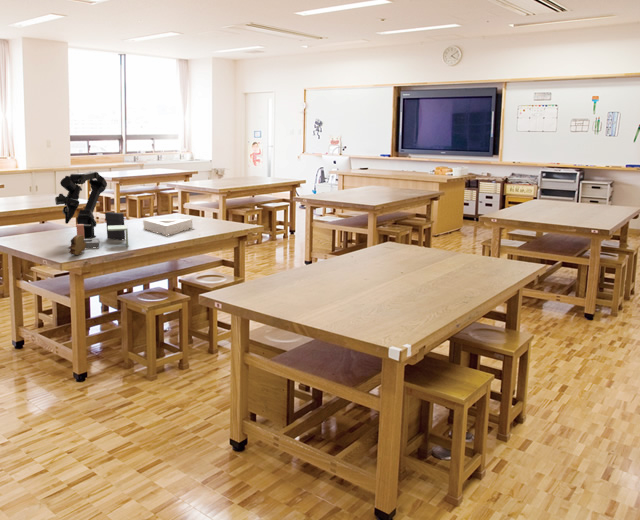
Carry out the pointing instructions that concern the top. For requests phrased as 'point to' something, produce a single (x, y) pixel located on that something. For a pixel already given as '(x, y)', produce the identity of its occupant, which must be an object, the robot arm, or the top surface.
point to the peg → (80, 229)
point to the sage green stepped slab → (119, 227)
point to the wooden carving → (77, 245)
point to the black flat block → (113, 220)
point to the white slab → (167, 225)
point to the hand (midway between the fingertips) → (67, 221)
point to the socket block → (91, 243)
